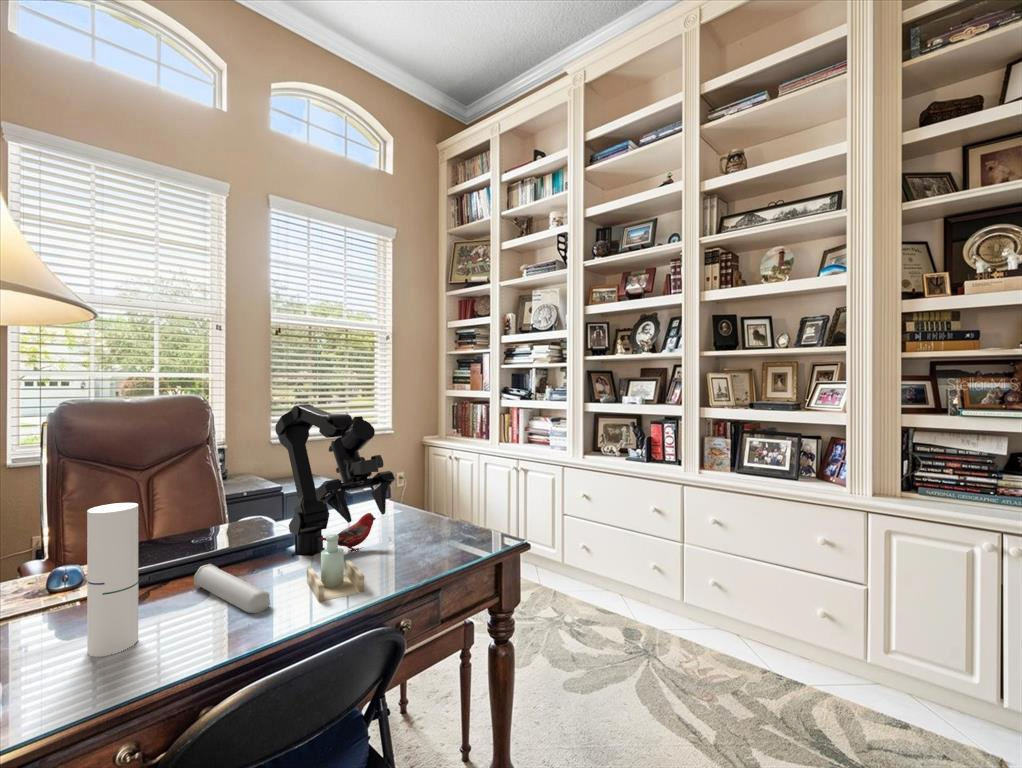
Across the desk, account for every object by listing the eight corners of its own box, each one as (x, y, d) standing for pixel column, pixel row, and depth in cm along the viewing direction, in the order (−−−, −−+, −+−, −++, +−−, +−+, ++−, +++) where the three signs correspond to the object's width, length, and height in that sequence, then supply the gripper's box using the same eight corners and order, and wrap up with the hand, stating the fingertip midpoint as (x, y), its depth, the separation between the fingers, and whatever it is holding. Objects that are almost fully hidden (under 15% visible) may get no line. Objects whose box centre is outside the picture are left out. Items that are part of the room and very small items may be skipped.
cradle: (306, 585, 115) (306, 568, 115) (349, 575, 121) (349, 559, 121) (318, 604, 105) (318, 585, 105) (364, 593, 111) (364, 575, 111)
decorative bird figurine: (378, 546, 142) (378, 512, 142) (320, 563, 129) (320, 525, 129) (373, 544, 144) (373, 510, 144) (315, 560, 131) (315, 523, 131)
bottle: (316, 586, 113) (316, 538, 113) (328, 578, 118) (328, 532, 118) (336, 588, 112) (336, 540, 112) (347, 579, 117) (347, 533, 117)
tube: (278, 590, 103) (221, 564, 118) (255, 591, 99) (198, 563, 113) (270, 617, 102) (213, 587, 116) (246, 619, 98) (189, 587, 112)
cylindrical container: (107, 636, 92) (106, 503, 92) (147, 634, 93) (147, 502, 92) (76, 657, 85) (76, 513, 85) (120, 655, 86) (120, 512, 85)
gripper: (327, 448, 111) (347, 512, 106) (395, 440, 125) (416, 497, 120) (307, 469, 118) (325, 531, 112) (374, 460, 132) (393, 515, 126)
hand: (367, 517), depth 117 cm, fingers open, 9 cm apart
